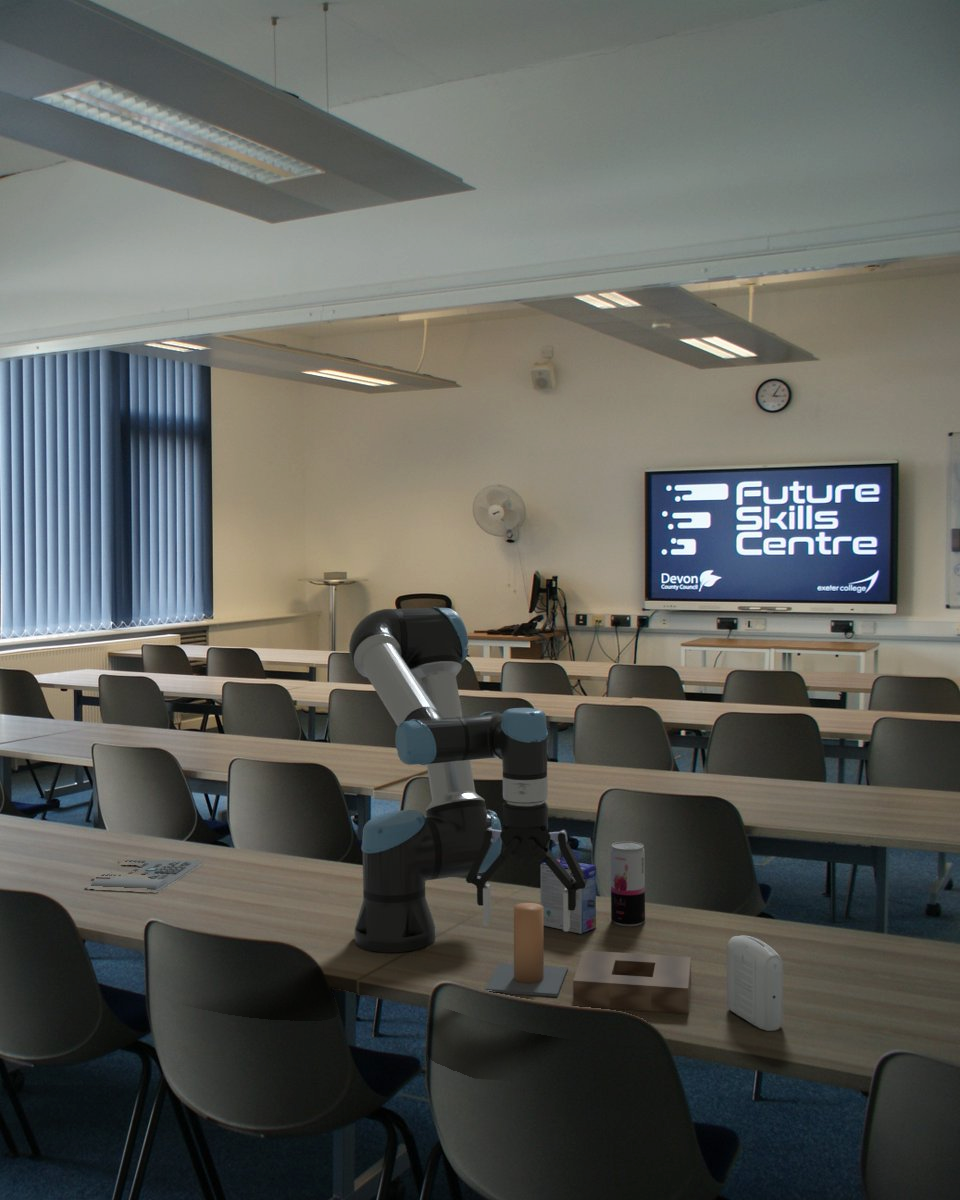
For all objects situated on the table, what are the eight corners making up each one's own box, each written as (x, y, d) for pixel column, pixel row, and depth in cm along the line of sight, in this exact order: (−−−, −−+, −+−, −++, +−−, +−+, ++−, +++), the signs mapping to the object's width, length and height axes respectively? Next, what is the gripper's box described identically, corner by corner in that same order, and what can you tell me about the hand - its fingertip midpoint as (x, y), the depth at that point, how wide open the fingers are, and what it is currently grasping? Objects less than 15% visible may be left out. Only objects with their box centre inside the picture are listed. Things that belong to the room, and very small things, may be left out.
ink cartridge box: (598, 927, 217) (597, 853, 217) (582, 935, 213) (582, 859, 212) (555, 918, 223) (554, 845, 223) (539, 925, 219) (538, 851, 218)
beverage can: (622, 928, 216) (621, 851, 216) (605, 919, 222) (604, 843, 222) (651, 924, 219) (650, 847, 218) (633, 914, 225) (633, 839, 224)
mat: (485, 991, 186) (485, 988, 186) (499, 965, 198) (499, 963, 198) (557, 996, 183) (557, 993, 183) (567, 970, 195) (567, 967, 195)
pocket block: (573, 1005, 180) (573, 980, 180) (584, 973, 193) (584, 950, 193) (688, 1013, 176) (688, 988, 176) (691, 980, 190) (691, 957, 189)
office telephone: (158, 884, 244) (73, 881, 247) (159, 897, 244) (73, 893, 247) (203, 855, 266) (124, 852, 270) (203, 866, 267) (124, 863, 270)
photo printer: (787, 1028, 170) (787, 947, 170) (764, 1033, 168) (764, 951, 168) (745, 1004, 179) (744, 927, 179) (722, 1009, 178) (722, 931, 177)
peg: (511, 981, 189) (511, 910, 188) (516, 971, 193) (516, 901, 193) (540, 984, 187) (540, 912, 187) (545, 973, 192) (545, 903, 192)
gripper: (447, 803, 188) (449, 929, 189) (597, 808, 183) (598, 938, 184) (458, 794, 196) (459, 915, 196) (602, 799, 190) (603, 923, 191)
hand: (526, 926), depth 190 cm, fingers open, 13 cm apart
